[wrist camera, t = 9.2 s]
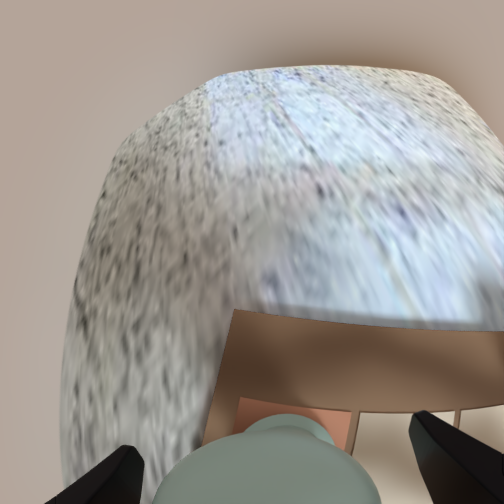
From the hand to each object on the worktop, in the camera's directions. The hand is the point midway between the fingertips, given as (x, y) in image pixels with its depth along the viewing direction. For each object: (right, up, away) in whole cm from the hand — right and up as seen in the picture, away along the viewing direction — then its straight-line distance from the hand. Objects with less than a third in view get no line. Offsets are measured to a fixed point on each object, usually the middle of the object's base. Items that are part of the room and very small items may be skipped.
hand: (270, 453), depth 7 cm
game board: (+8, -8, +3) cm, 11 cm away
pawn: (+1, -5, +5) cm, 7 cm away
